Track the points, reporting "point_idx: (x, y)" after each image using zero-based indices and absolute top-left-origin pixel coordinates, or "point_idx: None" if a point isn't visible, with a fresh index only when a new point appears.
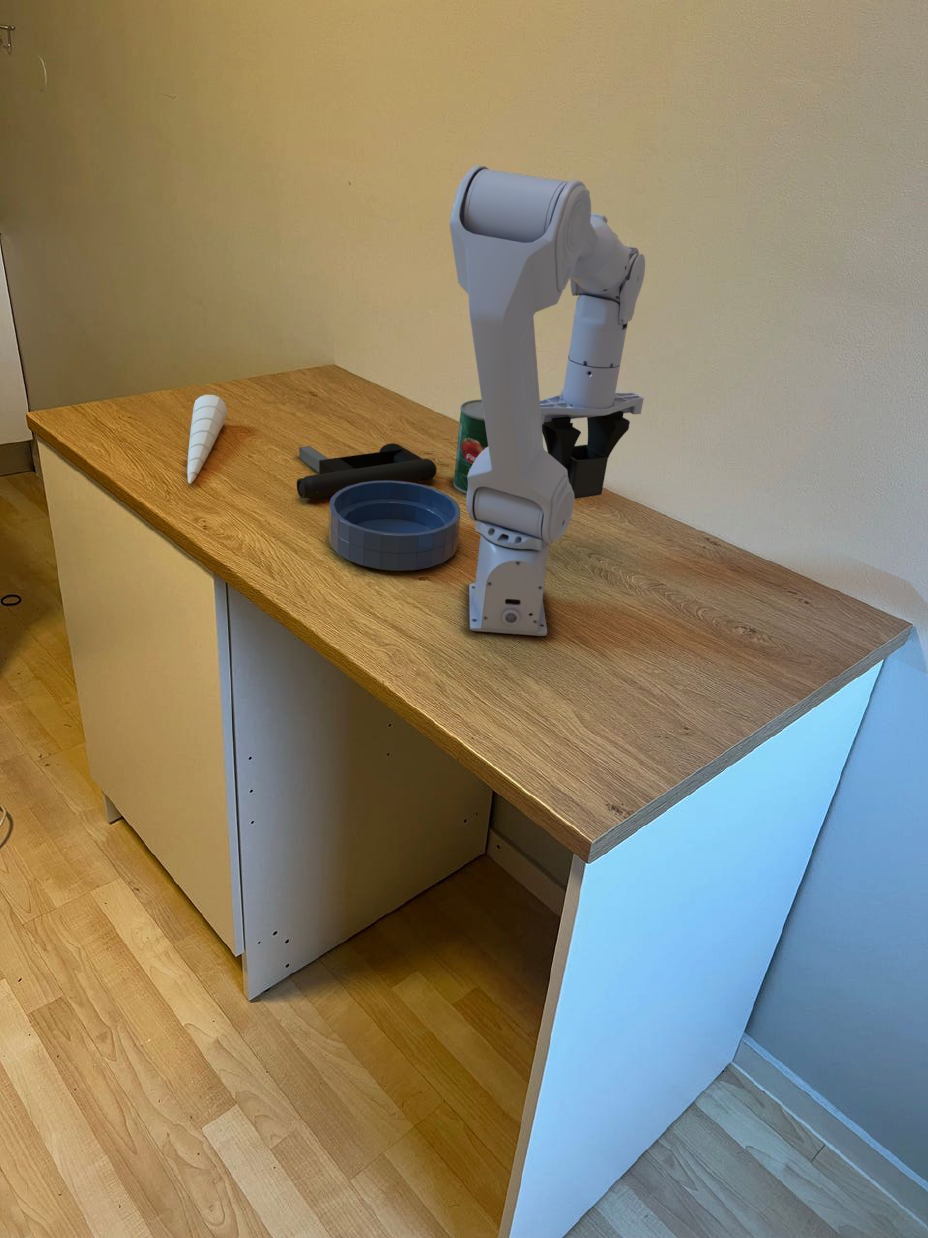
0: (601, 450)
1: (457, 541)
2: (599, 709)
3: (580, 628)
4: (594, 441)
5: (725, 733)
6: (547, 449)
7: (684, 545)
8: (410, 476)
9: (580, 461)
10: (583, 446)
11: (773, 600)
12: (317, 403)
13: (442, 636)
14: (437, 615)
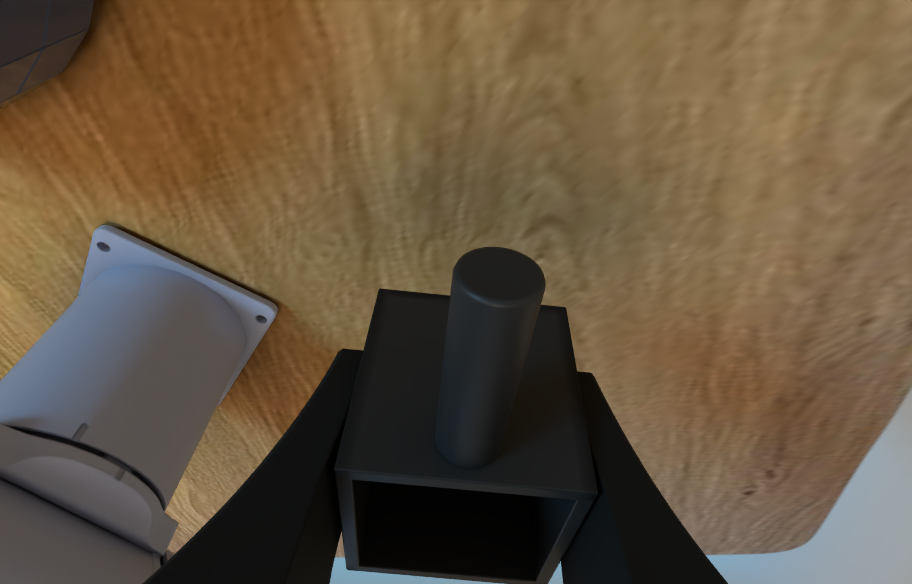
0: (571, 571)
1: (64, 43)
2: (225, 498)
3: (299, 403)
4: (596, 570)
5: None
6: (257, 470)
7: (839, 294)
8: None
9: (371, 568)
10: (556, 493)
11: (708, 473)
12: None
13: (10, 330)
14: (3, 275)
